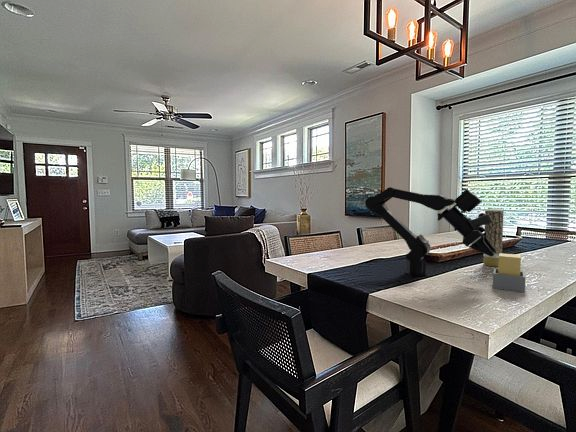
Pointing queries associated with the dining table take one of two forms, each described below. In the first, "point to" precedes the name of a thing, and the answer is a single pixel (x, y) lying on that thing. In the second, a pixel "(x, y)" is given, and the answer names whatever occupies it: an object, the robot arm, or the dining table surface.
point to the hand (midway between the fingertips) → (493, 253)
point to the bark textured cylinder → (494, 236)
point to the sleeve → (509, 281)
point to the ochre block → (509, 264)
